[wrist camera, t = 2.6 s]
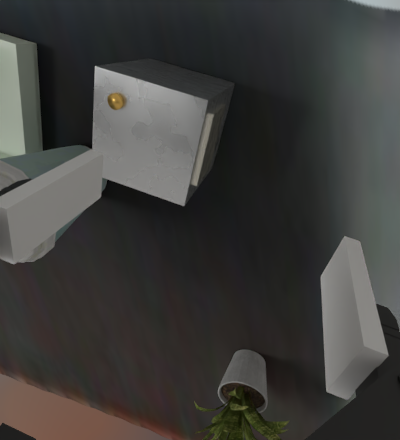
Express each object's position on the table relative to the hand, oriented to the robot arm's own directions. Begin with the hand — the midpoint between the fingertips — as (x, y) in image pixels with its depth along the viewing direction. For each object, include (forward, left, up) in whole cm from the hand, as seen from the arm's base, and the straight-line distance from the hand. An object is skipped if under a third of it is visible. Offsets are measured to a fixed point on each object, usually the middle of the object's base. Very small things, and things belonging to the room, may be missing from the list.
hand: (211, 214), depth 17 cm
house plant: (+10, -36, -19) cm, 42 cm away
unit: (-8, -1, -19) cm, 20 cm away
